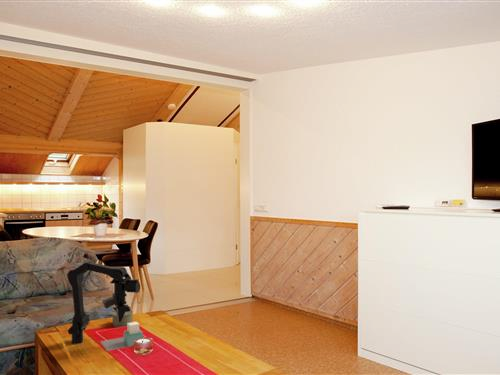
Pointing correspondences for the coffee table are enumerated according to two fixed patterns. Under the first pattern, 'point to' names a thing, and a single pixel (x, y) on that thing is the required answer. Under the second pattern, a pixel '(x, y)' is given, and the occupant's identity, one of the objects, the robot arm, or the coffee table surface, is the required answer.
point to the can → (126, 319)
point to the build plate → (122, 341)
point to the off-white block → (132, 327)
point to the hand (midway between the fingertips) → (119, 321)
